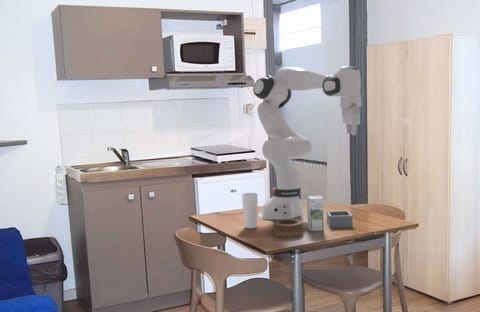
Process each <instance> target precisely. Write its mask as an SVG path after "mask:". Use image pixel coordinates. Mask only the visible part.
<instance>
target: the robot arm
mask: <svg viewBox="0 0 480 312" xmlns="http://www.w3.org/2000/svg"><path fill="white" fill-rule="evenodd" d="M361 87H362V80H361V72H360V69H359V68H358V67H357V66H350V65H349V66H348V65H344V66H341V67H340V69H338V70H337V71H336V72H334V73H332V74H330V75H326V74H322V73H319V72H318V73H317V72H314V71H311V70H308V69H305V68H304V69H303V68H301V67H293V66H287V67H286V66H285V67H280V68H279V69H277V71H276V72H275V75H274V76H271V75H267V76H265V77H260V78H258V79H257V80H256V81H255V82H254V84H253V88H252V91H253V95H254V96H255V97H257V98H258V99H260V100H262V102H260V104H259V105H258V106H257V109H256V111H257V116H258V118H259V121H260V124H261V125H262V127H263V129H264V131H265V134H266V135H267V136H268V138H269V139H266V140H265V141H264V143H263V144H262V149H261V152H262V155H263V157H264V159H265V160H267V161H269V162H270V164H271V165H272V166H273V168H274V171H275V175H276V176H275V177H276V187H272V188H271V191H272V194H273V195H272V197H270V198H269V199H268V200H267V201H265V202H264V204H263V206H262V210H261V212H259V213H257V218H258V219H261V220H281V219H295V218H297V217H301V216H305V213H304V211H303V206H302V188H301V186H300V185H301V184H300V183H301V181H300V178H301V177H300V171H298V169H297V168H295V167H294V166H292V165H291V162H290V160H297V159H303V158H305V157H308V156H309V155H310V154H311V151H312V143H311V141H310V139H309V137H306V136H304V135H302V134H299V133H298V132H296V131H295V130H294V129H292V127H291V126H290V125H288V122H287V121H286V119H285V118H284V116H283V115H282V113H281V111H280V110H279V109H281V108H283V107H284V106H285V105H286V104H287V103H288V102H289V101H290V99H291V97H292V91H302V92H303V91H310V90H317V89H322V90H323V93H324V94H325V95H326V96H328V97H340V103H339V105H340V108H341V116H342V118H341V119H342V122H343V124H345V128H346V133H347V134H348V135H352V136H357V129H358V126H359V125H360V124H361V113H360V108H361V107H362V93H361Z"/></svg>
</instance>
